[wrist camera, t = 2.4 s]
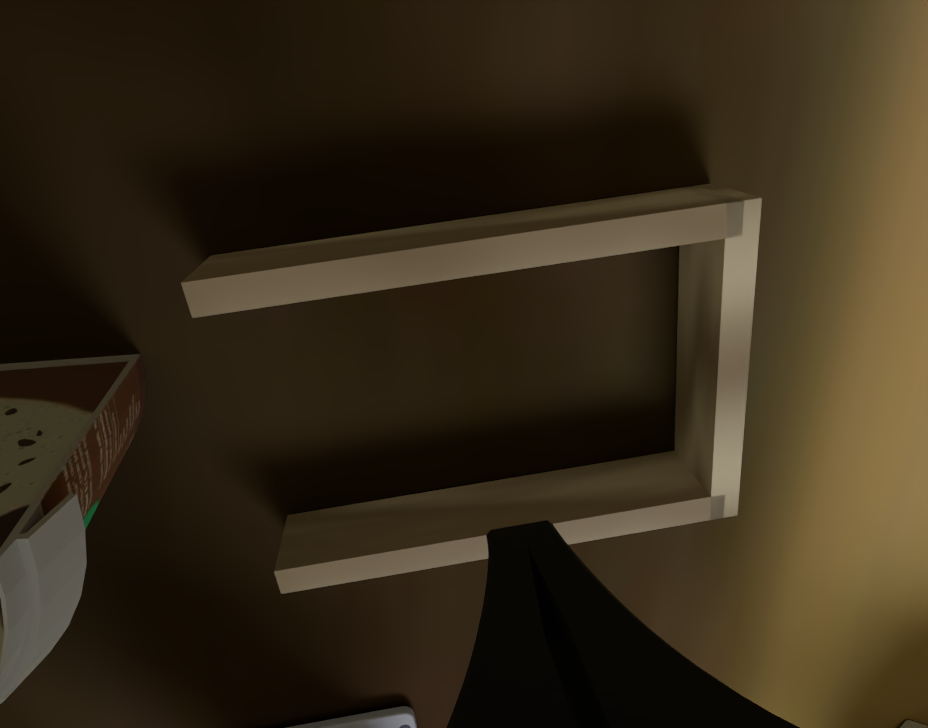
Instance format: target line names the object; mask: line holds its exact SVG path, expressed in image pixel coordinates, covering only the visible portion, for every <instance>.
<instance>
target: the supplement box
mask: <svg viewBox="0 0 928 728" xmlns="http://www.w3.org/2000/svg"><path fill="white" fill-rule="evenodd" d="M900 728H928V726H927V725H924V724H921V723H918V722H915V721H911V720H907V721H905V722H904V723H903V725H902V726H901V727H900Z"/></svg>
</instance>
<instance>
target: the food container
mask: <svg viewBox="0 0 928 728" xmlns="http://www.w3.org/2000/svg"><path fill="white" fill-rule="evenodd" d="M145 398H146V389H145V372H144V367H143V362H142V357H141V354H133V355H119V356H105V357H91V358H77V359H64V360H50V361H36V362H22V363H8V364H0V704H1V703H2V702H3V701H4V700H5V699H6V698H7V697H8V696H9V695H10V694H11V693H12V692H13V691H14V690H15V689H16V688H17V687H18V686H19V684H20V683H21V682H22V681H23V680H24V679H25V678H26V677H27V676H28V675H29V674H30V673H31V672H32V671H33V670H34V669H35V667H36V666H37V665H38V664H39V663H40V662H41V661H42V660H43V659H44V658H45V657H46V656H47V655H48V654H49V653H50V651H51V650H52V649H53V647H54V646H55V644H56V643H57V642H58V640H59V639H60V637H61V636H62V634H63V633H64V632H65V630H66V629H67V627H68V626H69V624H70V621H71V619H72V616H73V614H74V612H75V609H76V607H77V604H78V602H79V600H80V597H81V593H82V587H83V582H84V576H85V570H86V564H87V560H86V538H85V529H86V527H87V525H88V524H89V522H90V520H91V518H92V516H93V514H94V512H95V510H96V508H97V506H98V504H99V503H100V501H101V499H102V497H103V495H104V493H105V491H106V489H107V487H108V485H109V484H110V482H111V480H112V478H113V476H114V474H115V472H116V470H117V468H118V466H119V465H120V463H121V461H122V459H123V457H124V455H125V453H126V451H127V449H128V447H129V445H130V444H131V442H132V440H133V438H134V436H135V434H136V431H137V429H138V426H139V424H140V421H141V418H142V415H143V409H144V404H145Z"/></svg>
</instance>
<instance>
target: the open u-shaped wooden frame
mask: <svg viewBox="0 0 928 728" xmlns="http://www.w3.org/2000/svg"><path fill="white" fill-rule="evenodd" d="M761 202H762V198H760V197H757V196H753V195H750V194H746V193H743V192H739V191H736V190H732V189H729V188H725V187H722V186H718V185H715V184H711V183H710V184H703V185H696V186H689V187H682V188H676V189H669V190H662V191H655V192H648V193H641V194H634V195H627V196H620V197H613V198H606V199H599V200H592V201H585V202H578V203H571V204H565V205H558V206H551V207H544V208H537V209H530V210H523V211H516V212H509V213H502V214H495V215H488V216H481V217H474V218H467V219H460V220H454V221H447V222H440V223H433V224H426V225H419V226H412V227H405V228H398V229H391V230H384V231H377V232H370V233H363V234H356V235H350V236H343V237H336V238H329V239H322V240H315V241H308V242H301V243H294V244H287V245H280V246H273V247H266V248H259V249H252V250H245V251H239V252H232V253H225V254H218V255H211V256H210V257H209V258H207V259H206V260H205V261H204V262H203V263H202V264H201V265H200V266H199V267H198V268H197V269H195V270H194V271H193V272H192V273H191V274H190V275H189V276H188V277H187V278H186V279H185V280H183V281H182V282H181V284H182V288H183V291H184V294H185V297H186V300H187V303H188V306H189V309H190V312H191V316H192V318H196V317H203V316H209V315H216V314H223V313H229V312H236V311H243V310H250V309H256V308H263V307H270V306H276V305H283V304H290V303H297V302H303V301H310V300H317V299H323V298H330V297H337V296H344V295H350V294H357V293H364V292H370V291H377V290H384V289H390V288H397V287H404V286H411V285H417V284H424V283H431V282H437V281H444V280H451V279H458V278H464V277H471V276H478V275H484V274H491V273H498V272H505V271H511V270H518V269H525V268H531V267H538V266H545V265H552V264H558V263H565V262H572V261H578V260H585V259H592V258H599V257H605V256H612V255H619V254H625V253H632V252H639V251H645V250H652V249H659V248H666V247H672V246H679V285H678V327H677V369H676V410H675V451H670V452H664V453H658V454H652V455H646V456H640V457H634V458H628V459H622V460H616V461H610V462H604V463H598V464H592V465H586V466H580V467H574V468H568V469H562V470H556V471H550V472H544V473H538V474H532V475H526V476H520V477H514V478H508V479H502V480H496V481H490V482H484V483H478V484H472V485H466V486H459V487H453V488H447V489H441V490H435V491H429V492H423V493H417V494H411V495H405V496H399V497H393V498H387V499H381V500H375V501H369V502H363V503H357V504H351V505H345V506H339V507H333V508H327V509H321V510H315V511H309V512H303V513H297V514H291V515H287V519H286V523H285V528H284V532H283V536H282V540H281V544H280V548H279V552H278V557H277V561H276V565H275V569H274V573H275V576H276V579H277V582H278V586H279V589H280V592H281V594H284V593H290V592H296V591H302V590H308V589H313V588H319V587H325V586H331V585H336V584H342V583H348V582H354V581H360V580H365V579H371V578H377V577H383V576H389V575H394V574H400V573H406V572H412V571H418V570H423V569H429V568H435V567H441V566H447V565H452V564H458V563H464V562H470V561H475V560H481V559H487V558H488V544H487V537H486V535H487V534H488V532H489V531H490V530H492V529H498V528H504V527H510V526H515V525H521V524H527V523H533V522H539V521H545V520H548V521H549V522H551V523H552V524H553V525H554V527H555V528H556V530H557V531H558V532H559V534H560V535H561V536H562V538H563V539H564V540H565V542H566V543H567V544H574V543H580V542H585V541H591V540H597V539H603V538H609V537H614V536H620V535H626V534H632V533H638V532H643V531H649V530H655V529H661V528H667V527H672V526H678V525H684V524H690V523H695V522H701V521H707V520H713V519H719V518H724V517H730V516H736V515H737V512H738V500H739V487H740V474H741V461H742V448H743V435H744V422H745V409H746V396H747V383H748V370H749V357H750V345H751V332H752V319H753V306H754V293H755V280H756V267H757V254H758V241H759V228H760V215H761Z"/></svg>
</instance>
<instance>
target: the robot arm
mask: <svg viewBox="0 0 928 728" xmlns="http://www.w3.org/2000/svg"><path fill="white" fill-rule="evenodd" d="M486 537H487V544H488V573H487V583H486V590H485V597H484V604H483V609H482V614H481V619H480V623H479V628H478V633H477V637H476V641H475V645H474V649H473V653H472V656H471V660H470V663H469V667H468V670H467V673H466V676H465V679H464V682H463V685H462V688H461V691H460V694H459V697H458V699H457V702H456V705H455V708H454V710H453V713H452V715H451V718H450V721H449V723H448V725H447V728H799V727H797V726H795V725H793V724H791V723H789V722H788V721H786V720H784V719H782V718H780V717H778V716H776V715H774V714H772V713H770V712H769V711H767V710H765V709H763V708H762V707H760V706H758V705H757V704H755V703H753V702H752V701H750V700H748V699H746V698H745V697H743V696H741V695H740V694H738V693H737V692H735V691H734V690H732V689H731V688H729V687H728V686H726V685H725V684H723V683H722V682H720V681H719V680H717V679H716V678H714V677H713V676H711V675H710V674H708V673H707V672H705V671H704V670H702V669H701V668H699V667H698V666H696V665H695V664H694V663H692V662H691V661H690V660H688V659H687V658H686V657H684V656H683V655H682V654H680V653H679V652H678V651H676V650H675V649H674V648H672V647H671V646H670V645H669V644H668V643H666V642H665V641H664V640H663V639H661V638H660V637H659V636H658V635H656V634H655V633H654V632H653V631H652V630H650V629H649V628H648V627H647V626H646V625H645V624H644V623H642V622H641V621H640V620H639V619H638V618H637V617H636V616H635V615H634V614H632V613H631V612H630V611H629V610H628V609H627V608H626V607H625V606H624V605H623V604H622V603H621V602H620V601H619V600H618V599H617V598H616V597H615V596H614V595H613V594H612V593H611V592H610V591H609V590H608V589H607V588H606V587H605V586H604V585H603V584H602V583H601V582H600V581H599V580H598V579H597V578H596V577H595V576H594V574H593V573H592V572H591V571H590V570H589V569H588V568H587V567H586V566H585V565H584V563H583V562H582V561H581V560H580V559H579V558H578V556H577V555H576V554H575V553H574V552H573V550H572V549H571V548H570V547H569V545H568V544H567V543H566V542H565V540H564V539H563V538H562V536H561V535H560V534H559V532H558V531H557V530H556V528H555V527H554V525H553V524H552V523H551V522H549V521H548V520H545V521H539V522H533V523H527V524H521V525H515V526H510V527H504V528H498V529H492V530H490V531H489V532H488V534H487V535H486ZM286 728H417V724H416V720H415V715H414V712H413V710H412V709H411V708H410V707H406V706H400V707H395V708H390V709H384V710H379V711H373V712H368V713H362V714H357V715H351V716H346V717H341V718H335V719H330V720H324V721H319V722H313V723H308V724H302V725H297V726H292V727H286Z"/></svg>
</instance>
